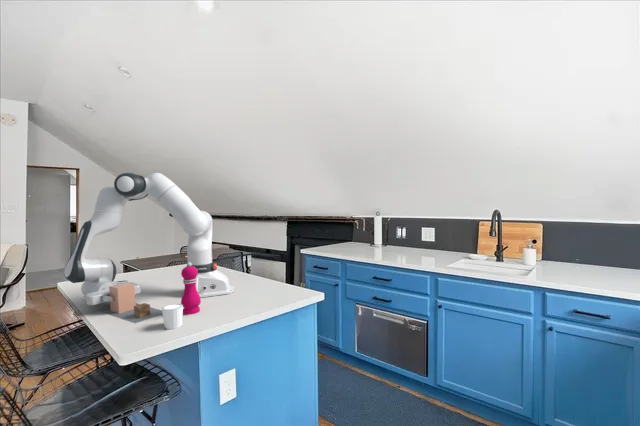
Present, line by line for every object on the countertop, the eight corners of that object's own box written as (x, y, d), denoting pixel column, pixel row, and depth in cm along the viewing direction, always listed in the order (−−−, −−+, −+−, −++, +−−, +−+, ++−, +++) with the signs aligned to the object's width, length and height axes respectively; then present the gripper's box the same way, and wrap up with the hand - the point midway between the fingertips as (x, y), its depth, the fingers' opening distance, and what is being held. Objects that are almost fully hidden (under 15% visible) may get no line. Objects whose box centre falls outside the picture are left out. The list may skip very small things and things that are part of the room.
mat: (102, 313, 134) (102, 312, 134) (135, 304, 144) (135, 303, 144) (135, 324, 121) (135, 323, 121) (168, 313, 131) (168, 312, 131)
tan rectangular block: (127, 306, 141) (126, 282, 140) (135, 308, 137) (134, 284, 137) (110, 310, 135) (109, 286, 135) (119, 313, 132) (117, 288, 131)
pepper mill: (189, 317, 126) (186, 264, 125) (177, 314, 130) (175, 263, 129) (205, 311, 132) (202, 261, 132) (193, 308, 136) (191, 260, 135)
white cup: (167, 323, 121) (166, 304, 121) (186, 322, 121) (185, 303, 121) (159, 330, 114) (158, 310, 114) (180, 329, 115) (179, 309, 114)
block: (144, 313, 131) (144, 303, 131) (150, 314, 129) (149, 304, 129) (134, 316, 128) (133, 305, 128) (140, 318, 126) (139, 307, 126)
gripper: (78, 290, 134) (94, 295, 127) (130, 279, 151) (147, 282, 144) (79, 306, 134) (95, 311, 127) (131, 293, 151) (148, 297, 144)
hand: (123, 296), depth 135 cm, fingers closed on tan rectangular block, 7 cm apart
